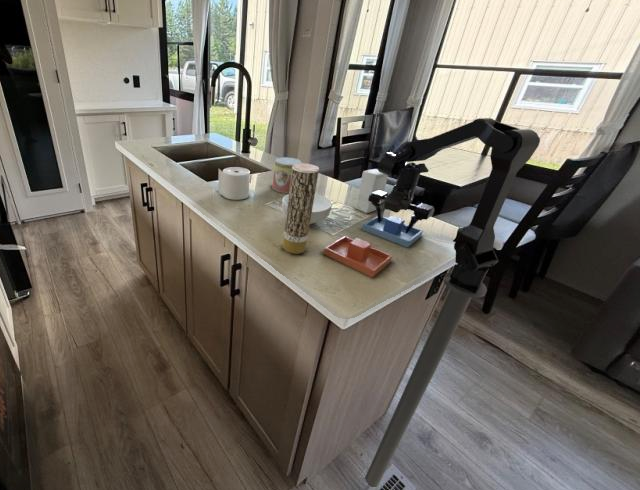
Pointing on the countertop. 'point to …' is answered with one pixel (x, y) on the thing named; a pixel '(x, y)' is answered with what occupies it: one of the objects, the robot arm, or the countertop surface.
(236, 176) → the toilet tissue
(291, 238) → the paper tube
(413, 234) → the blue tray
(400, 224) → the blue block
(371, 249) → the clay tray
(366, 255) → the clay block
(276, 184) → the canned food
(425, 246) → the countertop surface
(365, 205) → the cosmetic box
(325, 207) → the cereal bowl
